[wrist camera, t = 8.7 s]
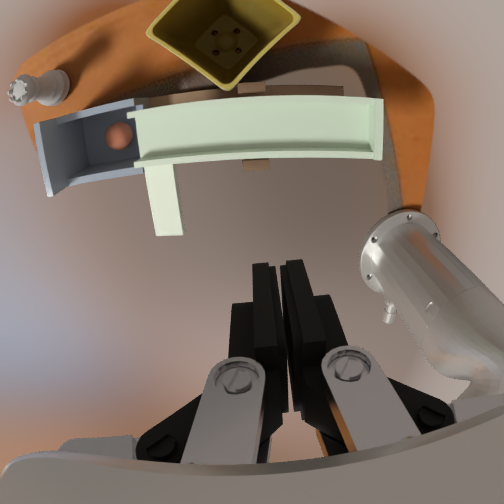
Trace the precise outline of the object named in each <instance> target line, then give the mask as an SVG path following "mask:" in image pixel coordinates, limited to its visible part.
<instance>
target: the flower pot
mask: <svg viewBox="0 0 504 504" xmlns="http://www.w3.org/2000/svg"><path fill="white" fill-rule="evenodd" d="M300 20H301V16H300V15H299V14H298V13H297V12H296V11H294V10H293V9H292V8H290V7H289V6H288V5H287V4H285V3H284V2H283V1H281V0H173V1H172V2H171V3H170V4H169V5H168V6H167V7H166V9H165V10H164V11H163V12H162V13H161V14H160V15H159V16H158V17H157V18H156V19H155V20H154V21H153V23H152V24H151V25H150V26H149V28H148V29H147V31H146V35H147V36H148V37H149V38H150V39H152V40H154V41H155V42H157V43H158V44H160V45H161V46H163V47H164V48H166V49H167V50H169V51H170V52H172V53H173V54H175V55H176V56H178V57H179V58H181V59H182V60H184V61H185V62H186V63H188V64H189V65H191V66H192V67H193V68H195V69H196V70H197V71H199V72H200V73H201V74H203V75H204V76H205V77H207V78H208V79H209V80H211V81H212V82H213V83H214V84H216V85H217V86H218V87H220V88H221V89H223V90H225V91H230V90H232V89H233V88H234V87H235V86H236V84H237V83H238V82H239V81H240V80H241V79H242V78H243V76H244V75H245V74H246V73H247V72H248V71H249V70H250V69H251V68H252V67H253V65H254V64H255V63H256V62H257V61H258V60H259V59H260V58H261V57H262V56H263V55H264V54H265V53H266V52H267V51H268V50H269V49H270V48H271V47H272V46H273V45H274V44H276V43H277V42H278V41H279V40H280V39H281V38H282V37H283V36H284V35H285V34H286V33H287V32H289V31H290V30H291V29H292V28H293V27H294V26H296V25H297V24H298V23H299V22H300ZM235 29H239V31H240V32H239V33H238V34H236V33H234V30H235ZM213 31H216V32H217V35H215V36H213V35H212V32H213ZM237 48H239V49H241V52H240V53H236V49H237ZM215 50H217V51H218V52H219V54H218V55H214V54H213V52H214V51H215Z"/></svg>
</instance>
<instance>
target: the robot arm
mask: <svg viewBox="0 0 504 504" xmlns="http://www.w3.org/2000/svg"><path fill="white" fill-rule="evenodd" d="M252 267H253V268H252V271H253V302H246V303H234V304H232V311H231V325H230V339H229V354H228V359H225V360H223V361H221V362H219V363H217V364H216V365H215V366H214V367H213V368H212V369H211V371H210V373H209V375H208V378H207V381H206V384H205V387H204V390H203V393H202V394H201V395H199V396H198V397H196V398H195V399H194V400H192V401H191V402H189V403H188V404H187V405H185V406H184V407H183V408H181V409H179V410H178V411H176V412H175V413H174V414H172V415H171V416H169V417H168V418H166V419H165V420H163V421H162V422H160V423H159V424H157V425H156V426H154V427H153V428H152V429H150V430H148V431H147V432H146V433H144V434H143V435H142V436H141V437H139V438H134V437H133V436H132V435H125V436H114V437H101V438H100V437H99V438H78V439H71V440H68V441H67V442H65V443H64V444H63V445H62V446H61V447H60V448H59V450H58V451H42V452H35V453H29V454H25V455H22V456H19V457H17V458H15V459H13V460H12V461H10V462H9V463H8V464H7V465H6V466H5V467H4V469H3V470H2V472H1V473H0V504H504V304H503V303H502V302H501V301H500V300H499V299H498V298H497V297H496V296H495V295H494V294H493V293H492V292H491V291H490V290H489V289H488V288H487V287H486V285H485V284H483V282H482V281H481V280H480V279H478V277H477V276H476V275H475V274H474V273H473V272H472V271H471V270H470V269H469V268H467V267H466V266H465V265H464V264H463V263H462V262H461V261H460V260H459V259H458V258H457V257H456V256H455V255H454V254H453V253H452V252H450V250H448V249H447V248H446V247H445V246H444V245H443V244H442V243H441V242H440V234H439V230H438V228H437V226H436V224H435V223H434V222H433V220H432V219H431V218H430V217H428V216H427V215H426V214H424V213H422V212H420V211H417V210H413V209H404V210H398V211H395V212H393V213H390V214H388V215H387V216H385V217H384V218H382V219H381V220H380V221H378V222H377V223H376V224H375V225H374V226H373V227H372V229H371V230H370V231H369V232H368V234H367V235H366V237H365V239H364V241H363V243H362V246H361V248H360V253H359V270H360V273H361V275H362V278H363V279H364V281H365V282H366V284H367V285H368V286H369V287H370V288H371V289H372V290H374V291H376V292H378V293H381V294H384V296H385V299H384V301H385V303H386V307H385V309H384V313H383V318H382V320H383V321H384V322H385V323H393V322H394V321H395V317H396V314H397V311H398V313H399V314H400V316H401V317H402V319H403V321H404V322H405V324H406V326H407V327H408V329H409V330H410V332H411V334H412V335H413V337H414V339H415V340H416V342H417V344H418V346H419V347H420V349H421V351H422V352H423V354H424V356H425V357H426V359H427V361H428V362H429V364H430V365H431V366H432V367H433V369H434V370H436V371H437V372H438V373H440V374H442V375H444V376H446V377H449V378H454V379H460V380H468V381H471V382H470V385H469V386H468V388H467V389H466V390H465V391H464V392H463V393H462V394H461V395H460V396H459V397H458V398H457V399H456V400H452V402H451V404H446V403H445V402H443V401H442V400H440V399H438V398H435V397H433V396H430V395H428V394H426V393H423V392H421V391H418V390H416V389H414V388H411V387H409V386H407V385H404V384H402V383H400V382H397V381H395V380H393V379H391V378H388V377H386V375H385V374H384V372H383V370H382V369H381V367H380V365H379V364H378V362H377V361H376V359H375V358H374V356H373V355H372V354H371V353H370V352H368V351H366V350H365V349H364V348H360V347H357V346H348V343H347V341H346V338H345V335H344V332H343V329H342V326H341V324H340V321H339V318H338V315H337V313H336V310H335V307H334V304H333V302H332V299H331V297H330V295H319V296H313V292H312V289H311V286H310V283H309V279H308V276H307V273H306V269H305V267H304V263H303V260H302V259H299V260H290V261H286V265H281V266H280V274H281V290H282V308H283V316H282V310H281V303H280V296H279V289H278V282H277V275H276V268H275V266H270V267H269V264H268V262H267V263H256V264H252ZM287 360H288V367H289V376H290V383H291V391H292V399H293V407H294V412H296V411H301V418H302V420H305V422H306V423H308V424H309V425H311V426H313V427H315V430H316V435H317V438H318V441H319V443H320V446H321V449H322V451H323V455H324V457H321V458H314V459H306V460H298V461H288V462H278V463H269V459H270V451H271V444H272V434H273V433H274V432H275V431H276V430H277V429H278V428H279V427H280V426H281V425H282V424H283V419H282V413H286V412H289V407H288V374H287Z"/></svg>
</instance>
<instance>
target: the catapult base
mask: <svg viewBox="0 0 504 504" xmlns="http://www.w3.org/2000/svg"><path fill="white" fill-rule="evenodd" d="M281 95H324V96H344V95H343V86H324V85H270V86H265V82H250V83H237V87H234V88H233V89H232V90H230V91H225V90H223V89H211V90H202V91H194V92H186V93H179V94H172V95H165V96H159V97H153V98H149V101H150V108H155V107H161V106H167V105H174V104H181V103H189V102H197V101H206V100H215V99H226V98H239V97H255V96H281ZM242 161H243V171H254V170H268V169H270V164H269V158H255V159H242Z"/></svg>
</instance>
